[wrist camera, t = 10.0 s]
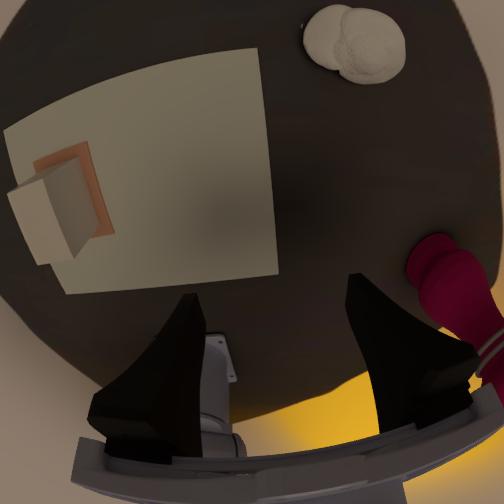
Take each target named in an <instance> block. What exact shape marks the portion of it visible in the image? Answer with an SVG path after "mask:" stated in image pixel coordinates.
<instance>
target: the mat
mask: <svg viewBox="0 0 504 504" xmlns="http://www.w3.org/2000/svg"><path fill="white" fill-rule="evenodd" d="M4 136H5V140H6V144H7V149H8V152H9V156H10V160H11V164H12V167H13V171H14V174H15V177H16V180H17V184H18V186H19V185H20V184H22V183H23V182H25V181H26V180H28V179H29V178H31V177H32V176H34V175H35V174H36V172H35V169H34V165H33V162H34V161H36V160H39V159H41V158H43V157H46V156H48V155H50V154H53V153H55V152H58V151H60V150H63V149H65V148H68V147H71V146H73V145H76V144H79V143H82V142H85V141H87V142H88V146H89V150H90V154H91V158H92V162H93V165H94V169H95V172H96V176H97V179H98V183H99V186H100V189H101V193H102V196H103V199H104V202H105V205H106V208H107V211H108V214H109V217H110V220H111V223H112V226H113V229H114V232H115V234H112V235H106V236H100V237H95V238H90V239H89V240H88V241H87V243H86V244H85V245H84V247H83V248H82V249H81V251H80V252H79V253H78V255H77V256H76V257H75V259H73V260H66V261H60V262H54V263H50V264H51V266H52V268H53V270H54V272H55V274H56V276H57V278H58V280H59V282H60V283H61V285H62V287H63V289H64V291H65V292H66V294H78V293H91V292H105V291H117V290H129V289H141V288H152V287H163V286H173V285H184V284H194V283H203V282H213V281H222V280H232V279H241V278H249V277H258V276H267V275H275V274H279V273H278V258H277V245H276V232H275V219H274V207H273V195H272V184H271V173H270V162H269V152H268V141H267V132H266V122H265V112H264V103H263V94H262V85H261V77H260V68H259V60H258V52H257V48H250V49H240V50H232V51H224V52H217V53H211V54H205V55H199V56H194V57H189V58H184V59H179V60H175V61H170V62H166V63H162V64H158V65H154V66H150V67H147V68H143V69H140V70H136V71H133V72H130V73H127V74H124V75H121V76H118V77H115V78H112V79H109V80H106V81H103V82H101V83H98V84H96V85H93V86H90V87H88V88H85V89H83V90H81V91H78V92H76V93H74V94H71V95H69V96H67V97H65V98H63V99H60V100H58V101H56V102H54V103H52V104H50V105H48V106H46V107H44V108H42V109H40V110H38V111H37V112H35V113H33V114H31V115H29V116H27V117H26V118H24V119H22V120H20V121H19V122H17V123H15V124H14V125H12V126H11V127H9V128H7V129H6V130H4Z"/></svg>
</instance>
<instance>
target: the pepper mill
mask: <svg viewBox="0 0 504 504" xmlns="http://www.w3.org/2000/svg"><path fill="white" fill-rule="evenodd" d="M406 273H407V276H408V278H409V280H410V281H411V283H412V284H413V286H414V287H415V288H416V289H417V290H418V291H419V292H418V297H419V302H420V305H421V307H422V308H423V310H424V311H425V312H426V313H427V315H428V316H429V317H430V318H431V319H432V320H434V321H435V322H436V323H438V324H439V325H441V326H443V327H444V328H446V329H448V330H449V331H451V332H452V333H454V334H455V335H456V336H457V337H458V338H459V339H460V340H461V341H464V342H467V343H470V344H472V345H473V346H474V348H475V350H476V351H477V353H478V355H479V356H480V359H481V362H480V365H479V367H478V368H477V370H476V371H475V372H476V373H475V375H476V377H478V378H482V384H481V387H482V386H484V385H486V384H488V383H489V382H491V383H492V385H493V387H494V389H495V391H496V393H497V395H498V397H499V399H500V401H501V404H502V406H503V408H504V318H503V317H502V315H501V313H500V312H499V310H498V308H497V307H496V304H495V302H494V299H493V297H492V294H491V291H490V288H489V284H488V281H487V277H486V274H485V272H484V269H483V267H482V265H481V264H480V262H479V261H478V260H477V258H476V257H475V256H474V255H473V254H472V253H471V252H469V251H467V250H464V249H459V247H458V245H457V244H456V243H455V242H454V241H453V240H452V239H451V238H450V237H449V236H447V235H446V234H442V233H437V234H432V235H430V236H428V237H426V238H424V239H423V240H422V241H420V242H419V243H418V244H417V245H416V247H415V248H414V249H413V251H412V252H411V254H410V256H409V258H408V261H407V266H406Z"/></svg>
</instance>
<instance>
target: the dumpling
mask: <svg viewBox="0 0 504 504" xmlns="http://www.w3.org/2000/svg"><path fill="white" fill-rule="evenodd" d="M302 26H303V23H302V24H301V28H302ZM303 44H304V47H305V49H306V51H307V53H308V55H309V56H310V57H311V59H312V60H313V61H315V62H316V63H317V64H319V65H321V66H324V67H325V68H328V69H331V70H339V71H340V75H342V76H344V78H345V79H347V80H349V81H351V82H354V83H358V84H362V85H364V84H373V83H374V84H376V83H382V82H386V81H388V80H389V79H391V78H393V77H394V76H396V75H397V74H398V73H399V72H400V70H401V69H402V68H403V66H404V63H405V39H404V36H403V34H402V31H401V30H400V28H399V26H398V25H397V24H396V23H395V21H393V20H392V19H391V18H390V17H388V16H387V15H385V14H383V13H381V12H379V11H374V10H371V9H365V8H350V7H348V6H345V5H331V6H328V7H326V8H324V9H322V10H320V11H319V12H317V13H316V14H315V15H314V16H313V17H312V18H311V20H310V21H309V23H308V24H307V26H306V29H305V31H304V37H303Z"/></svg>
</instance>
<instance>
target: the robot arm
mask: <svg viewBox="0 0 504 504" xmlns="http://www.w3.org/2000/svg"><path fill="white" fill-rule="evenodd" d="M345 308H346V312H347V316H348V319H349V323H350V325H351V328H352V330H353V333H354V335H355V338H356V340H357V342H358V345H359V347H360V350H361V352H362V355H363V357H364V360H365V362H366V365H367V369H368V372H369V376H370V380H371V385H372V389H373V394H374V399H375V404H376V410H377V416H378V424H379V431H380V432H379V433H380V434H378V435H375V436H371V437H367V438H364V439H360V440H356V441H352V442H347V443H343V444H339V445H334V446H329V447H324V448H319V449H313V450H307V451H300V452H293V453H285V454H277V455H266V456H253V457H247V452H246V446H245V444H244V442H243V440H242V439H241V437H240V436H239V435H238V434H236V433H232V424H229V423H228V422H229V382H235V381H237V377H236V374H235V370H234V367H233V364H232V360H231V357H230V354H229V350H228V347H227V343H226V340H225V336H224V335H223V334H209V335H206V322H205V319H204V316H203V312H202V309H201V306H200V303H199V300H198V297H197V293H191V294H184V295H183V296H182V298H181V299H180V301H179V303H178V304H177V306H176V308H175V309H174V311H173V313H172V314H171V316H170V317H169V319H168V320H167V322H166V323H165V325H164V326H163V328H162V329H161V331H160V332H159V334H158V335H157V336H156V338H154V339H153V342H152V343H151V344H150V345H149V347H148V348H147V349H146V350H145V351H144V353H143V354H142V355H141V356H140V357H139V358H138V359H137V360H136V361H135V362H134V363H133V364H132V365H131V366H130V367H129V368H128V369H127V370H126V371H125V372H124V373H122V374H121V375H120V376H119V377H118V378H116V379H115V380H114V381H113V382H111V383H110V384H108V385H107V386H106V387H104V388H103V389H101V390H100V391H98V392H97V393H95V394H94V396H93V399H92V402H91V406H90V409H89V413H88V417H87V421H88V422H89V424H90V425H91V426H92V427H93V428H94V429H96V430H97V431H98V432H100V433H101V434H102V435H104V436H105V437H106V438H107V439H106V443H103V442H101V441H97V440H93V439H89V438H84V437H80V438H79V442H78V446H77V451H76V455H75V460H74V465H73V470H72V476H71V482H72V483H75V484H77V485H79V486H82V487H84V488H86V489H89V490H92V491H94V492H97V493H99V494H102V495H106V496H110V497H113V498H118V499H121V500H126V501H129V502H134V503H139V504H407V502H406V497H405V492H404V488H403V484H402V483H403V482H405V481H408V480H410V479H413V478H415V477H417V476H420V475H422V474H424V473H426V472H428V471H431V470H433V469H435V468H437V467H439V466H441V465H443V464H445V463H447V462H449V461H451V460H452V459H454V458H456V457H458V456H460V455H461V454H463V453H465V452H467V451H469V450H470V449H472V448H474V447H475V446H477V445H479V444H480V443H482V442H483V441H485V440H486V439H487V438H489V437H490V436H491V435H493V434H494V433H496V432H497V431H498V430H499V429H500V428H502V427H503V426H504V408H503V406H502V404H501V401H500V399H499V397H498V395H497V393H496V391H495V389H494V387H493V385H492V383H491V382H489V383H488V384H486V385H484V386H482V387H480V388H478V389H477V390H475V391H473V392H472V393H471V394H470V393H469V391H468V389H469V388H470V384H469V382H468V380H469V379H470V377H471V376H472V375H473V373H474V372H475V371H476V370H477V368H478V367H479V365H480V362H481V359H480V356H479V355H478V353H477V351H476V350H475V348H474V346H473V345H472V344H470V343H467V342H464V341H461V340H458V339H456V338H453V337H451V336H448V335H446V334H444V333H442V332H440V331H438V330H436V329H434V328H432V327H430V326H428V325H427V324H425V323H423V322H422V321H420V320H418V319H417V318H415V317H414V316H412V315H411V314H409V313H408V312H407V311H405V310H404V309H403V308H401V307H400V306H399V305H397V304H396V303H395V302H394V301H392V300H391V299H390V298H389V297H388V296H386V295H385V294H384V293H383V292H382V291H381V290H379V289H378V288H377V287H376V286H375V285H374V284H373V283H372V282H370V281H369V280H368V279H367V278H366V277H365V276H364V275H363V274H361V273H357V274H350V275H349V279H348V287H347V294H346V301H345ZM245 474H249V475H245Z"/></svg>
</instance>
